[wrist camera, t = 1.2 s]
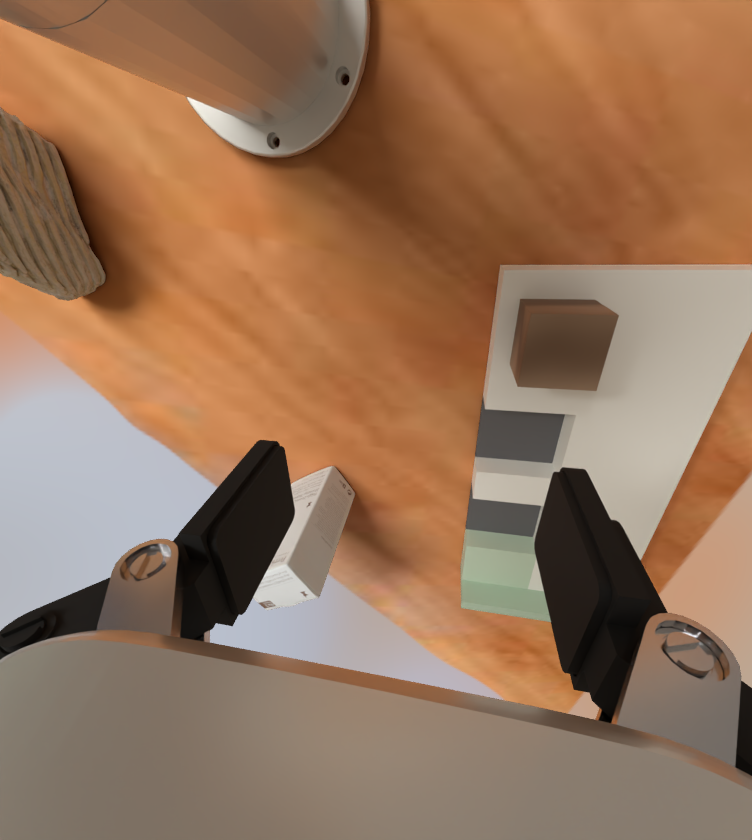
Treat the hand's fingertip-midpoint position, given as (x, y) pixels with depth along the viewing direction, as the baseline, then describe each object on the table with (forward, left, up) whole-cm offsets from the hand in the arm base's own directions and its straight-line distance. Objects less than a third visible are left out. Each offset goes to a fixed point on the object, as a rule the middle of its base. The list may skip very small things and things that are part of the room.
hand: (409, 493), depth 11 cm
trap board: (+11, +12, -20) cm, 26 cm away
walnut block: (0, +8, -17) cm, 19 cm away
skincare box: (+18, -11, -20) cm, 29 cm away
